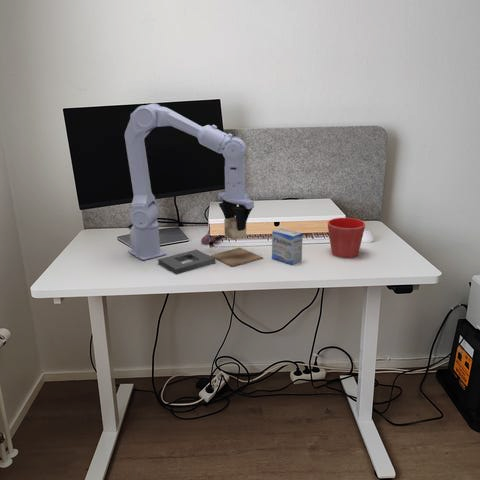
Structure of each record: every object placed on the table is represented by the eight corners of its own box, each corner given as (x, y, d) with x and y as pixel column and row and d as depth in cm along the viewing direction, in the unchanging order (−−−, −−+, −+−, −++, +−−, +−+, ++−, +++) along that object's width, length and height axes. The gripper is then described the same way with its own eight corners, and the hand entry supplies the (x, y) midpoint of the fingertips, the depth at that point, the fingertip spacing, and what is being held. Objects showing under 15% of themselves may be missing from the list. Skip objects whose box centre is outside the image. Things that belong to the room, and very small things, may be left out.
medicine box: (271, 259, 148) (271, 230, 146) (280, 255, 152) (281, 227, 149) (292, 265, 143) (293, 236, 141) (302, 261, 146) (303, 232, 144)
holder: (158, 264, 146) (158, 259, 145) (196, 254, 153) (196, 249, 153) (176, 274, 138) (176, 269, 138) (215, 263, 146) (215, 258, 145)
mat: (210, 256, 151) (210, 255, 151) (239, 248, 157) (239, 247, 157) (232, 267, 143) (232, 265, 143) (262, 258, 149) (262, 257, 149)
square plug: (224, 235, 148) (224, 219, 147) (237, 232, 151) (236, 216, 149) (233, 239, 145) (233, 222, 143) (246, 236, 147) (246, 219, 146)
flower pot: (340, 262, 145) (342, 230, 142) (319, 250, 155) (320, 220, 151) (370, 256, 149) (373, 225, 146) (348, 245, 159) (350, 215, 156)
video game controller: (212, 249, 162) (221, 231, 159) (199, 242, 162) (208, 224, 159) (219, 239, 171) (227, 222, 168) (207, 233, 171) (215, 216, 168)
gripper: (262, 183, 140) (262, 231, 144) (231, 176, 151) (232, 220, 155) (242, 187, 136) (242, 236, 140) (211, 179, 147) (213, 224, 151)
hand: (235, 228), depth 147 cm, fingers closed on square plug, 4 cm apart
